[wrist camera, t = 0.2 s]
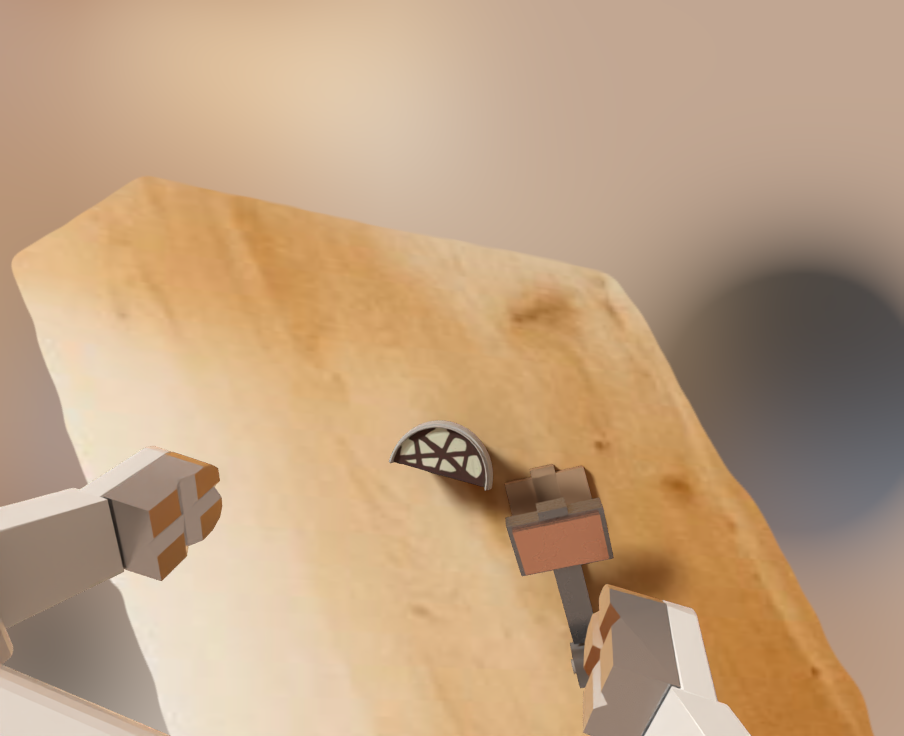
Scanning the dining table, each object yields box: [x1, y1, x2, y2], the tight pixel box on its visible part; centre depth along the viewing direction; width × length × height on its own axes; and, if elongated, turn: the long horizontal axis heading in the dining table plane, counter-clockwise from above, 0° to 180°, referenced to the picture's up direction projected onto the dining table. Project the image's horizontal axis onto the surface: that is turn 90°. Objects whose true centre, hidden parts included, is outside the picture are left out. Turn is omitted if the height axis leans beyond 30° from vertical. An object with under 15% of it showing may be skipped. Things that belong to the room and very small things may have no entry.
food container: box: [389, 421, 493, 491], centre depth 58 cm, size 12×6×10 cm, turn 76°
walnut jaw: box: [505, 464, 592, 688], centre depth 57 cm, size 25×10×6 cm, turn 14°
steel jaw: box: [505, 497, 614, 644], centre depth 53 cm, size 20×10×2 cm, turn 12°
